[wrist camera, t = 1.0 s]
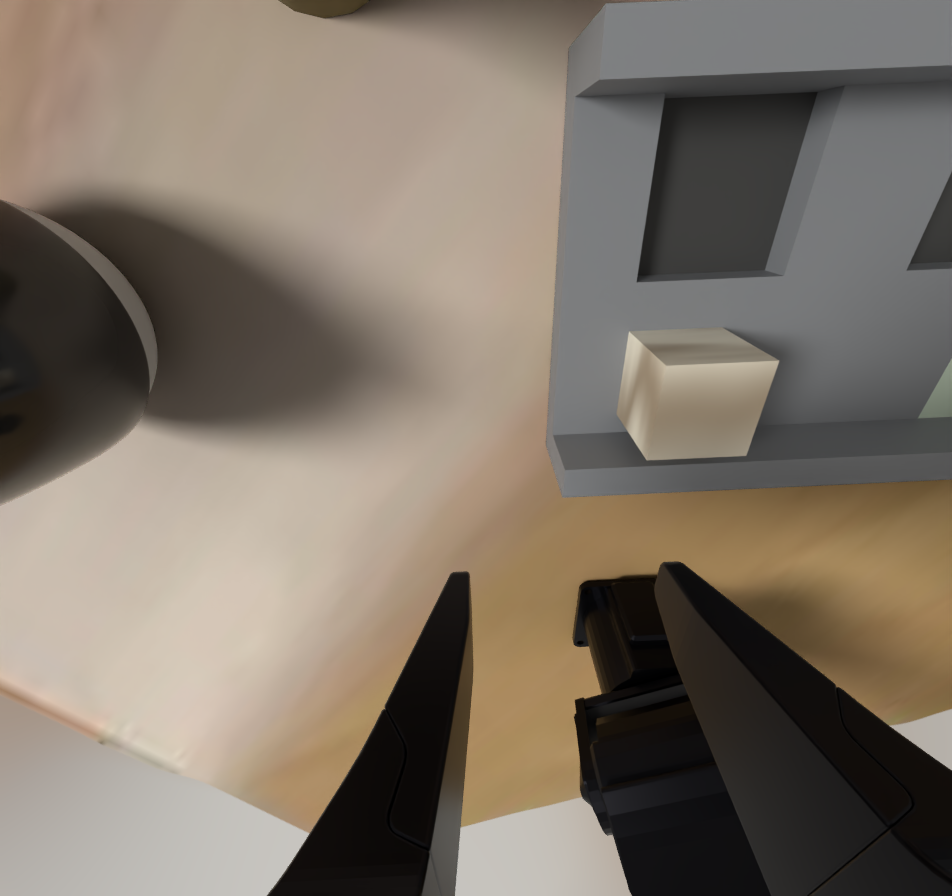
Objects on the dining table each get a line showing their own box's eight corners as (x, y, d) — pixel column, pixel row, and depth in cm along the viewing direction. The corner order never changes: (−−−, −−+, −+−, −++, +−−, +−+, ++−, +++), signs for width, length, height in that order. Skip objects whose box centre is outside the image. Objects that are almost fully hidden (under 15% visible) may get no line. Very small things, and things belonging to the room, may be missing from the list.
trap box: (1026, 423, 24) (1135, 470, 20) (545, 445, 23) (562, 497, 20) (1319, 17, 15) (1610, -38, 11) (568, 47, 15) (605, 3, 11)
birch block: (699, 410, 21) (746, 455, 17) (616, 414, 21) (646, 460, 17) (721, 327, 19) (779, 360, 15) (629, 331, 19) (666, 365, 15)
